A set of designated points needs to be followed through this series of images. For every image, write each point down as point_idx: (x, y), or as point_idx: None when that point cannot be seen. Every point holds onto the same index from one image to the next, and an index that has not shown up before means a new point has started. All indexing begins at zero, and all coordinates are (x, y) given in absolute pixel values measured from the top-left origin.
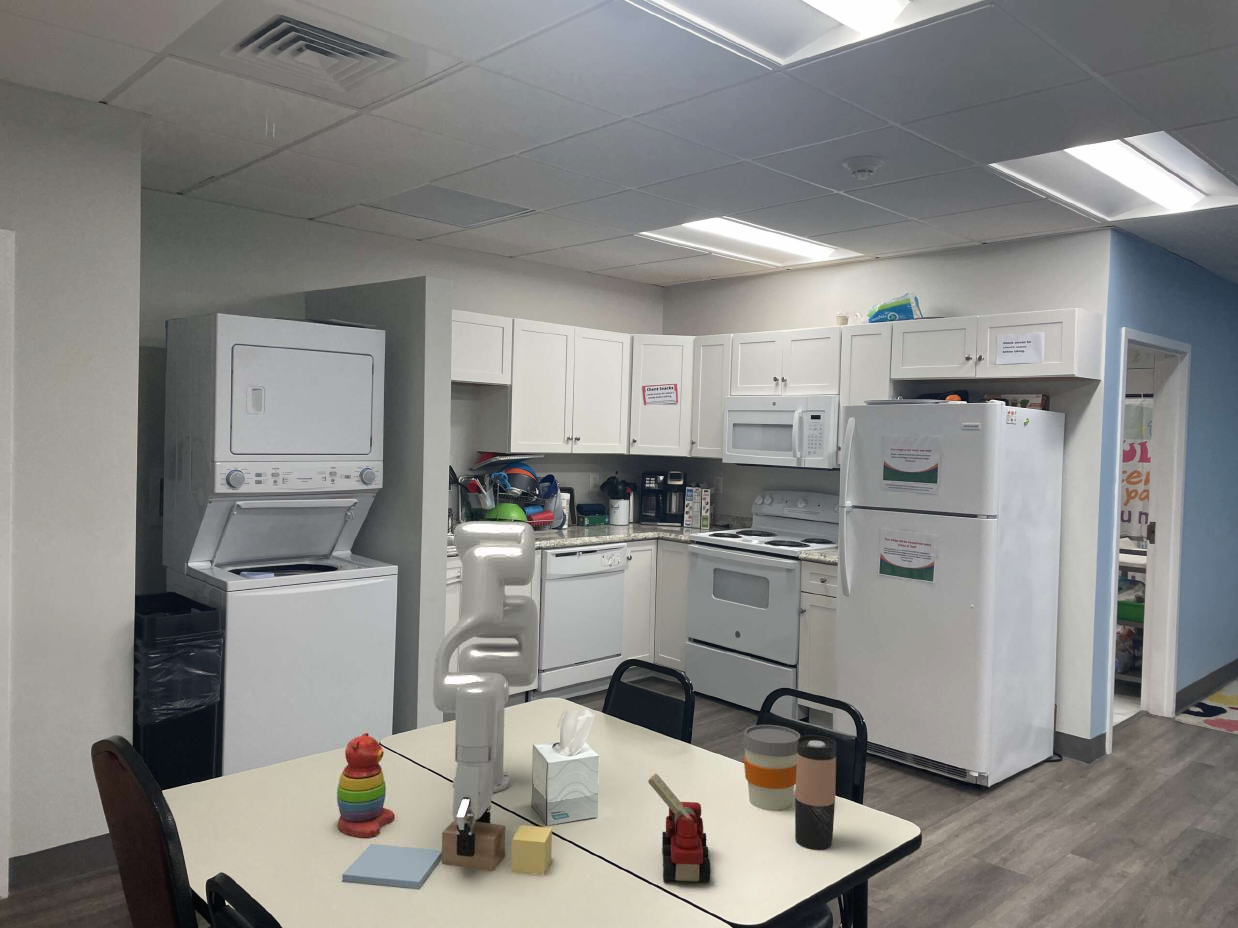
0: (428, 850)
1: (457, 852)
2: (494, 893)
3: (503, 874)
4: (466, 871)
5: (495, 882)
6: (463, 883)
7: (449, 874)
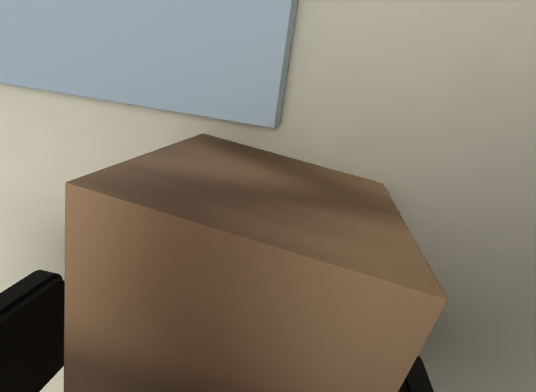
0: (266, 24)
1: (32, 278)
2: None
3: None
4: None
5: None
6: (50, 255)
7: None
